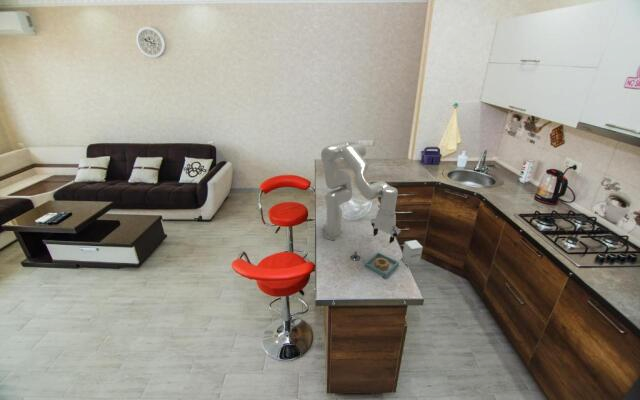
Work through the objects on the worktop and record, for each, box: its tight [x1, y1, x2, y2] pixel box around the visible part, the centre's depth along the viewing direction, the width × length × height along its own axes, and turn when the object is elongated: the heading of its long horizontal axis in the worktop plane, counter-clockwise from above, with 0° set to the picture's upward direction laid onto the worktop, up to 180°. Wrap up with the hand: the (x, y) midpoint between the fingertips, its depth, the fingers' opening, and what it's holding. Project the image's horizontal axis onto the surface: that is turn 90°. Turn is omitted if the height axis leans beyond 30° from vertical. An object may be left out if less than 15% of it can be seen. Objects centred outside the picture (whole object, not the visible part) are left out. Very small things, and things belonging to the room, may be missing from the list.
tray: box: [364, 251, 400, 280], centre depth 169 cm, size 14×14×3 cm
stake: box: [349, 251, 362, 262], centre depth 175 cm, size 6×6×5 cm
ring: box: [374, 257, 390, 271], centre depth 169 cm, size 7×7×3 cm
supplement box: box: [401, 239, 424, 268], centre depth 171 cm, size 7×7×13 cm
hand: (383, 238), depth 162 cm, fingers open, 9 cm apart
